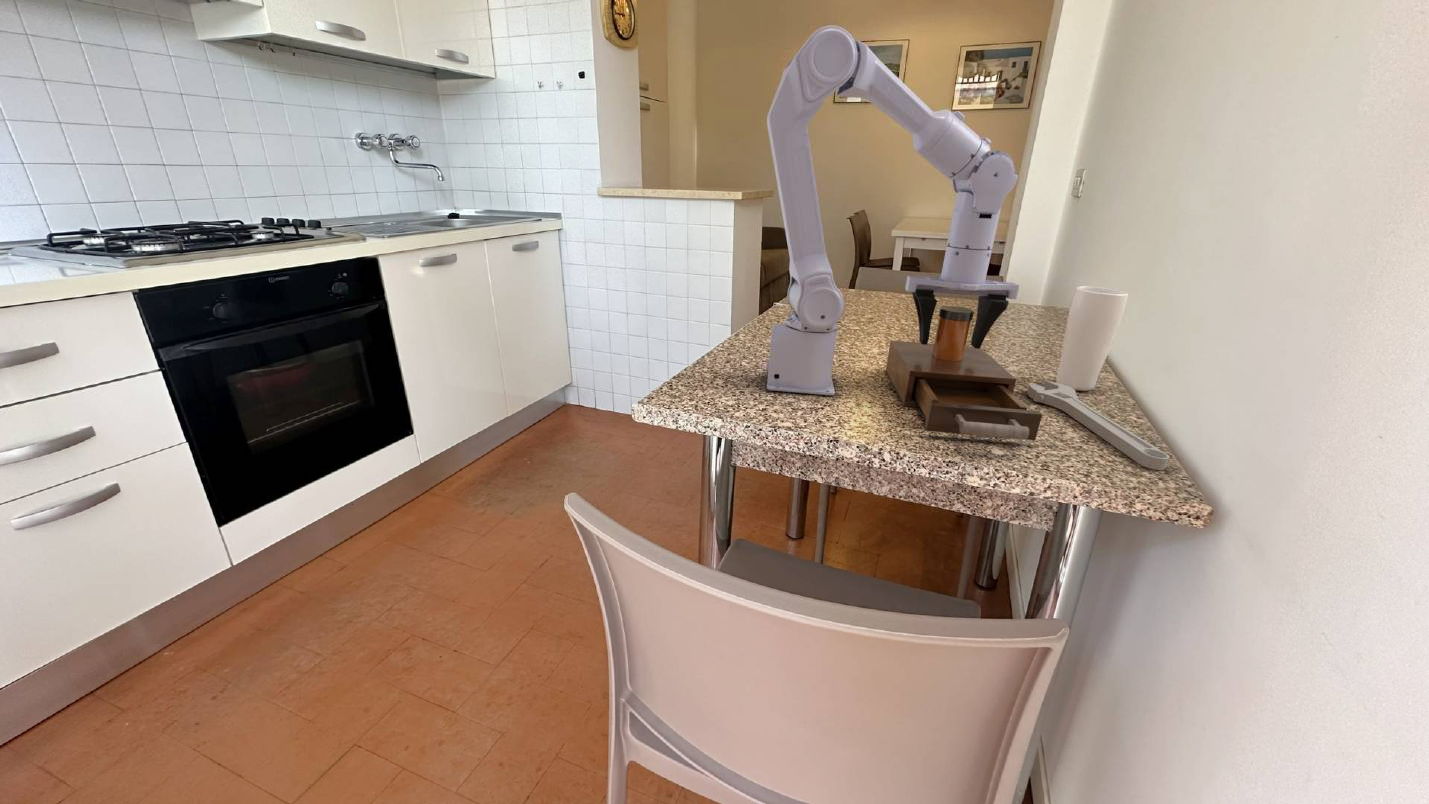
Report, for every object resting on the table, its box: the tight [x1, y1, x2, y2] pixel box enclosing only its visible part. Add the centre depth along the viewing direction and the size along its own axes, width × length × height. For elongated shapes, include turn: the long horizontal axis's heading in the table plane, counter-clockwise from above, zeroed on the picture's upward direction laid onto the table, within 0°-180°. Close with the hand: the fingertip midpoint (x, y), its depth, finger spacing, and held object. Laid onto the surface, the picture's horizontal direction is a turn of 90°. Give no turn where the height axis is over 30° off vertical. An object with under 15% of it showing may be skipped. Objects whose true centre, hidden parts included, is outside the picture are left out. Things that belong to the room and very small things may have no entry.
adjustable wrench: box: [1026, 380, 1170, 471], centre depth 74 cm, size 25×6×2 cm, turn 176°
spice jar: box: [932, 305, 975, 361], centre depth 81 cm, size 4×4×7 cm
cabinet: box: [885, 340, 1018, 408], centre depth 83 cm, size 16×14×5 cm
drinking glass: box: [1055, 285, 1130, 392], centre depth 86 cm, size 7×7×15 cm
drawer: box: [912, 377, 1043, 441], centre depth 71 cm, size 18×12×3 cm
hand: (949, 344), depth 82 cm, fingers open, 7 cm apart
